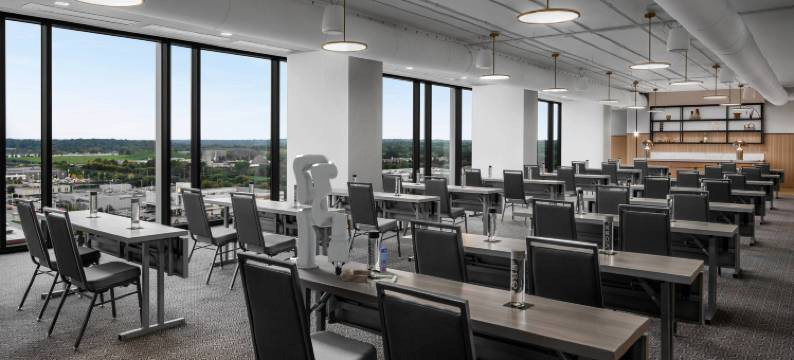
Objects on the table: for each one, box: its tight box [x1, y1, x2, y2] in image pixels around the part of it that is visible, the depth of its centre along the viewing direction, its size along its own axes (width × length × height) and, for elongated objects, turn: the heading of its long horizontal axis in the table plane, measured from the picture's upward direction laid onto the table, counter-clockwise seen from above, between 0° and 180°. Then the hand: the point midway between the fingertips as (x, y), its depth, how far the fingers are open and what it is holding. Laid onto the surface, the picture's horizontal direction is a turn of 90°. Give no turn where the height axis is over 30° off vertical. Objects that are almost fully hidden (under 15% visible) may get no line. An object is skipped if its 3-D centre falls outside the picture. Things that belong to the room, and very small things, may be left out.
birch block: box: [341, 268, 355, 280], centre depth 289 cm, size 5×5×4 cm
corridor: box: [342, 269, 372, 283], centre depth 288 cm, size 12×12×3 cm
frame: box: [372, 274, 398, 284], centre depth 287 cm, size 10×12×1 cm
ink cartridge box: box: [365, 242, 388, 272], centre depth 307 cm, size 10×6×14 cm, turn 54°
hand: (338, 274), depth 289 cm, fingers closed
